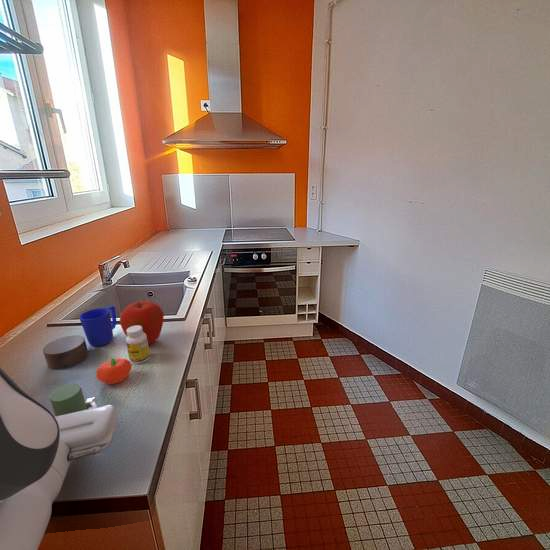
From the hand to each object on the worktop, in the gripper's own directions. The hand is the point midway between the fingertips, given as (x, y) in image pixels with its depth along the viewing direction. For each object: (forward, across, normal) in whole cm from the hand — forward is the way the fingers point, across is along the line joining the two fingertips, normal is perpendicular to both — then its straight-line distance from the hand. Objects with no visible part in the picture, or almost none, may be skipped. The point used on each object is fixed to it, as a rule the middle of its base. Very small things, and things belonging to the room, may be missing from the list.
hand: (65, 405), depth 58 cm
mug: (+41, +2, +8) cm, 42 cm away
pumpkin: (+17, -5, +8) cm, 19 cm away
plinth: (+32, +10, +8) cm, 34 cm away
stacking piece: (+2, 0, +7) cm, 7 cm away
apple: (+34, -11, +8) cm, 36 cm away
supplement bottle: (+25, -10, +8) cm, 28 cm away
